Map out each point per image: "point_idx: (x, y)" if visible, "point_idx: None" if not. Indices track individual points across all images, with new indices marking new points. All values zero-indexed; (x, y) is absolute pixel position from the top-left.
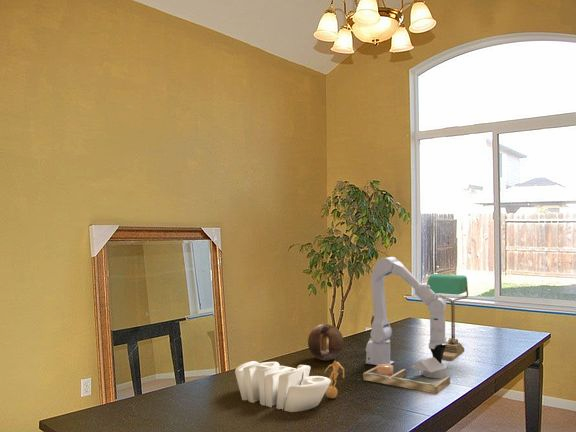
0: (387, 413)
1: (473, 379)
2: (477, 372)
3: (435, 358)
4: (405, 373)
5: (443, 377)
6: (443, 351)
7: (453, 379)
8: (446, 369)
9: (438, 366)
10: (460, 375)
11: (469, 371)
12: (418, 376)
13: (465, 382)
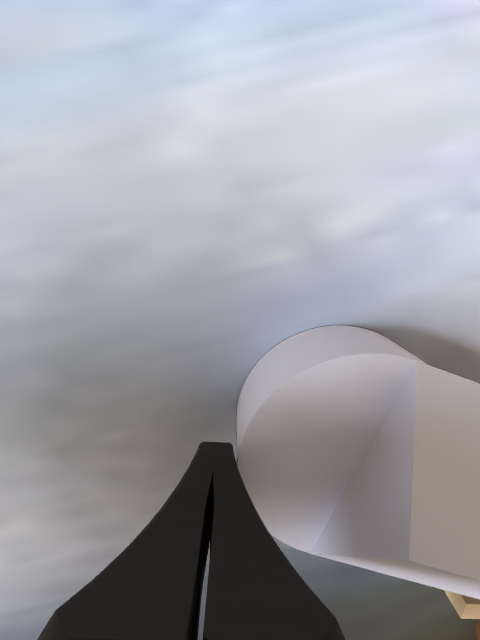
0: None
1: (319, 69)
2: (32, 88)
3: (415, 531)
4: None
5: (385, 337)
6: (167, 554)
7: (399, 251)
8: (358, 345)
9: (474, 423)
10: (241, 225)
11: (51, 178)
12: None
13: (456, 123)
